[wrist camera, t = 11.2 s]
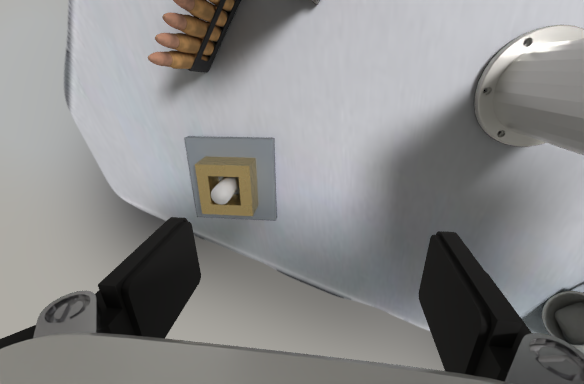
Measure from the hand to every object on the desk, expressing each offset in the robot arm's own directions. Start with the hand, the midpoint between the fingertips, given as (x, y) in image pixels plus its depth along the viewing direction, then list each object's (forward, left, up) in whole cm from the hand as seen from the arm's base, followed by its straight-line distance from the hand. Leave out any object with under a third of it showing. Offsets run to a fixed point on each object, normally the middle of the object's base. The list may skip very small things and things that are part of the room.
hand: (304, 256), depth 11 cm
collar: (+12, +8, -27) cm, 30 cm away
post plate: (+12, +8, -28) cm, 31 cm away
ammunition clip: (+12, -11, -28) cm, 32 cm away
